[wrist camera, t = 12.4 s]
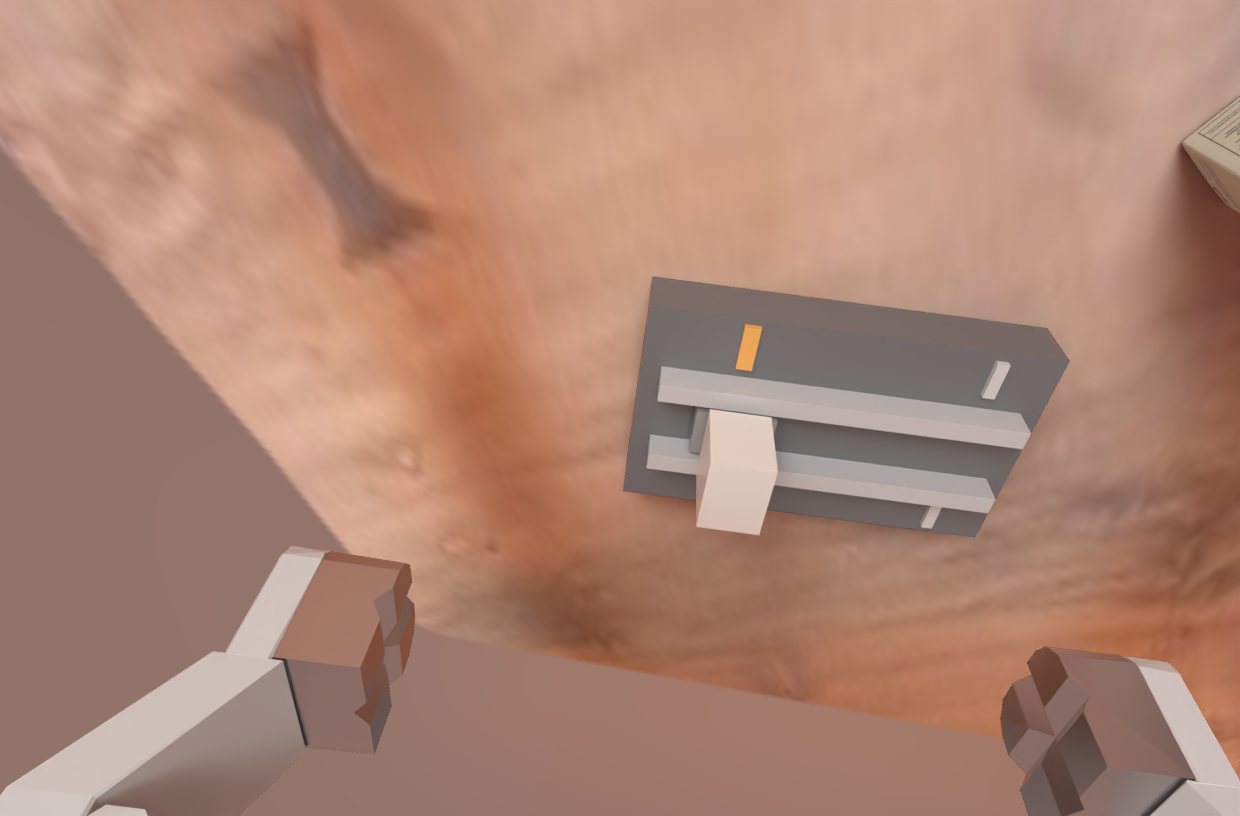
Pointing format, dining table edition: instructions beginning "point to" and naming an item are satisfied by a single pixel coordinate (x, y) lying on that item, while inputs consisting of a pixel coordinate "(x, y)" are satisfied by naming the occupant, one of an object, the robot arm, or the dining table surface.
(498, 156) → the dining table surface
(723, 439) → the fader knob
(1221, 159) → the skincare box
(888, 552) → the dining table surface
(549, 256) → the dining table surface
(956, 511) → the fader console
